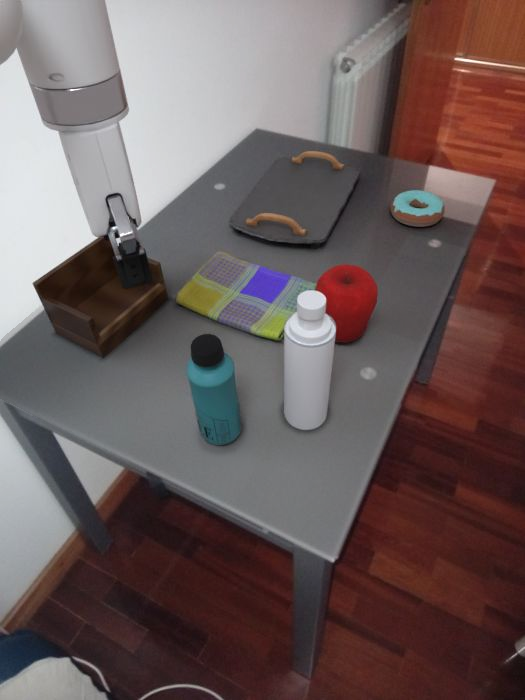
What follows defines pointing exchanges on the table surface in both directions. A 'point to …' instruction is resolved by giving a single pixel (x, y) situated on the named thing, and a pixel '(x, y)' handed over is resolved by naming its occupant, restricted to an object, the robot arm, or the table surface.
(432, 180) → the table surface
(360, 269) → the apple
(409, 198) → the donut
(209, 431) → the beverage bottle
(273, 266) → the table surface
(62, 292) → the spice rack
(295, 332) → the spray bottle
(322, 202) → the serving tray
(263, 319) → the dish towel
